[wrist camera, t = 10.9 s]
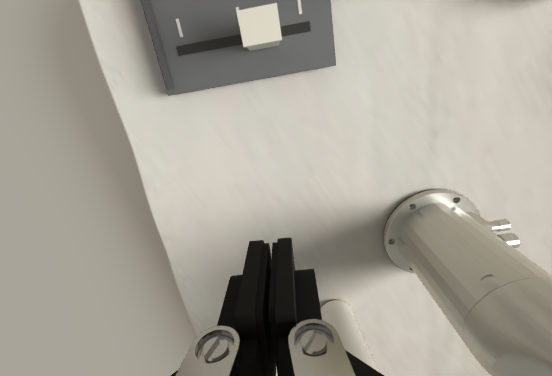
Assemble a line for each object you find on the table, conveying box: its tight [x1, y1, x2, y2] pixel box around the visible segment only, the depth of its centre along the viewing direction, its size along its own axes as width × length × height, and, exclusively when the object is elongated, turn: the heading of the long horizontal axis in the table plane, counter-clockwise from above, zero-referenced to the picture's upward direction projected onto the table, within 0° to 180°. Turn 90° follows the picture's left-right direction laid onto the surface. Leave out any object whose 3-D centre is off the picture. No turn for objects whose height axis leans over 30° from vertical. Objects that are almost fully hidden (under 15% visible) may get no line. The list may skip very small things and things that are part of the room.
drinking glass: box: [320, 300, 380, 373], centre depth 38 cm, size 7×7×15 cm
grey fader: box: [237, 3, 282, 51], centre depth 26 cm, size 3×3×6 cm
